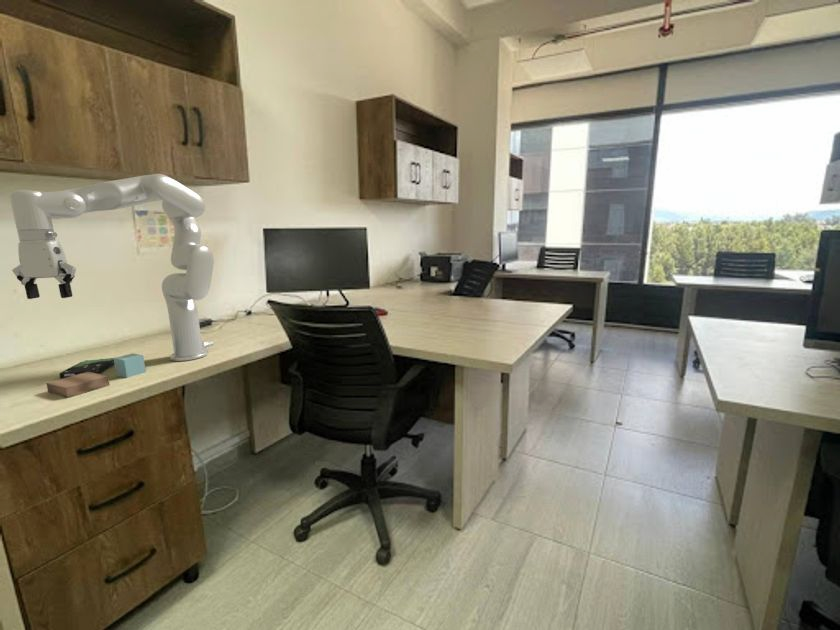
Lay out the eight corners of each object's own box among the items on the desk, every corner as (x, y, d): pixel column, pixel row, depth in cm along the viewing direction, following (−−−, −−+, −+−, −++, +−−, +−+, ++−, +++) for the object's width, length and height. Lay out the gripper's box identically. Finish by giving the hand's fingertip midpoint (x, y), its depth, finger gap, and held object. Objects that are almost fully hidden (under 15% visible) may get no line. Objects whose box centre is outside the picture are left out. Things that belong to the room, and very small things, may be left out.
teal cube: (135, 370, 143) (132, 353, 142) (145, 372, 141) (143, 355, 140) (116, 375, 138) (113, 358, 137) (127, 377, 136) (124, 360, 134)
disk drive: (96, 378, 138) (117, 364, 152) (94, 370, 137) (116, 357, 151) (60, 381, 135) (84, 367, 149) (58, 373, 135) (83, 359, 149)
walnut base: (90, 380, 133) (88, 371, 133) (109, 385, 129) (108, 376, 128) (48, 392, 124) (46, 382, 123) (67, 398, 119) (65, 388, 118)
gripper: (78, 235, 118) (90, 295, 122) (19, 237, 119) (33, 296, 122) (55, 236, 111) (68, 299, 114) (-8, 238, 111) (7, 300, 115)
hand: (50, 297), depth 118 cm, fingers open, 9 cm apart
